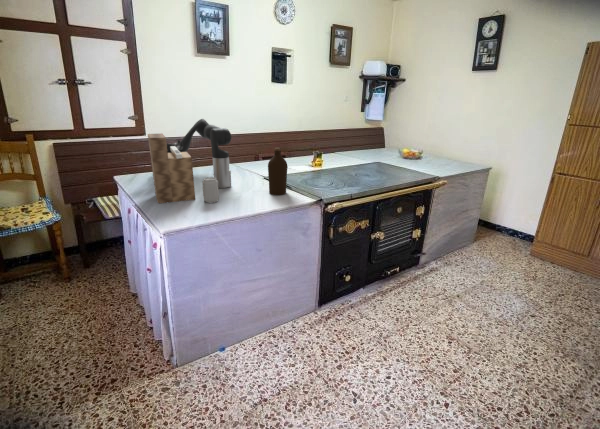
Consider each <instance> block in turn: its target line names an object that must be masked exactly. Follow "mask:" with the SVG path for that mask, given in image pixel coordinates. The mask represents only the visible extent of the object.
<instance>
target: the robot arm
mask: <svg viewBox="0 0 600 429" xmlns="http://www.w3.org/2000/svg"><path fill="white" fill-rule="evenodd" d="M196 132H197V133H198V134H199V136H200V137H201V138H204V139H207V140H210V144H211V155H212V166H213V167H212V171H213V177H214V178H216V180H217V181H218V189H226V188H230V187H232V175H231V174H232V171H231V170H230V156H229V155H230V153H229V151H227V150H223V149H221V148H220V147H219V146H227V145H229V144H230V143H231V141H232V133H231V132H230V130H229V129H228V128H226V127H225V128H222V127H220V126H217V125H215V124H210V123H208V122H207V120H206V119H204V118H201V119H199V120H197V121H196V122H195V123H194V125H193V126H192V127H191V128H190V129H189V130H188V131H187V133H186V134H185V135H184V137H183V138H182V139H181V140H179V139H177V141H176V142H173V143H166V144H167V153H172V152H171V150H170V146H175V147H176V148H177V149H178V150H179V151H180V152H188V150H189V149H190V147H191V144H192V139H193V136H194V134H195V133H196Z"/></svg>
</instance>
